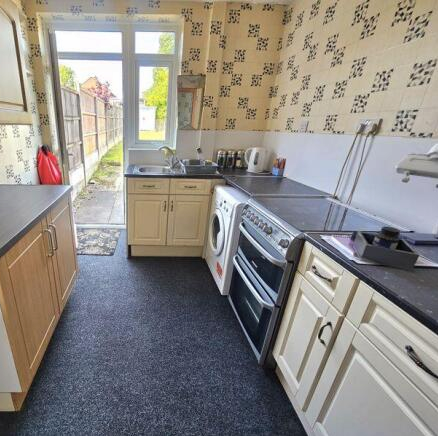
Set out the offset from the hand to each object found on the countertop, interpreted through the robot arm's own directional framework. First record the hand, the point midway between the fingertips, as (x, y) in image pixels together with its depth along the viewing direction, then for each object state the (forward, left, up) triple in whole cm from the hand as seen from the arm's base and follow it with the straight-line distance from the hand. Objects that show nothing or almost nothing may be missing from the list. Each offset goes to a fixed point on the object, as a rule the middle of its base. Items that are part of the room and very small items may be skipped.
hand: (420, 184), depth 92 cm
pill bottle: (+9, +18, -25) cm, 32 cm away
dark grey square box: (+9, +18, -26) cm, 33 cm away
